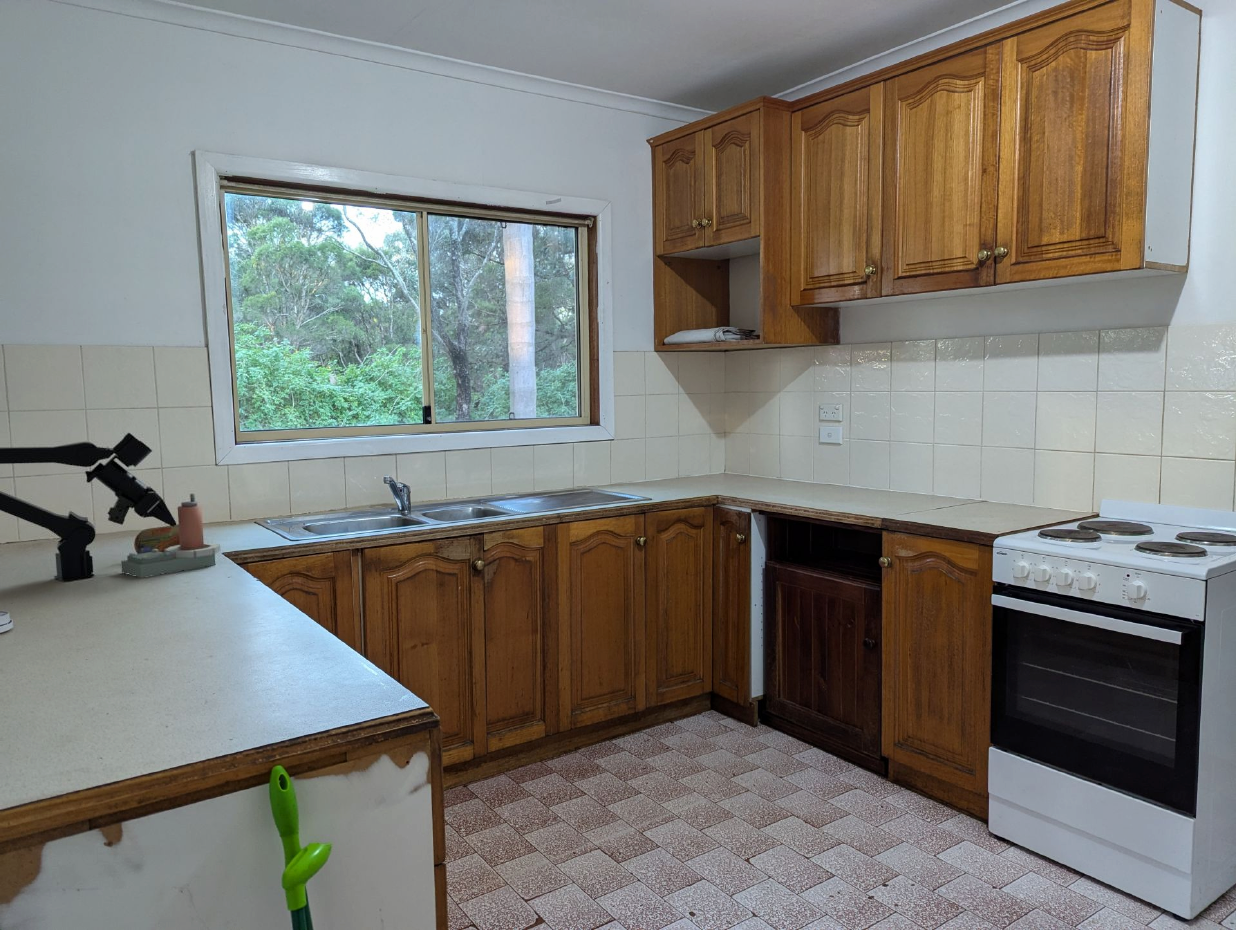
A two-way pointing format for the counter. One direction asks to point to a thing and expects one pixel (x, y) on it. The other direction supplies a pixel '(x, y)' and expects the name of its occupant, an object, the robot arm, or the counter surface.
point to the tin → (157, 539)
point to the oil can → (190, 525)
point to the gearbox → (169, 560)
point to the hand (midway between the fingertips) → (173, 522)
